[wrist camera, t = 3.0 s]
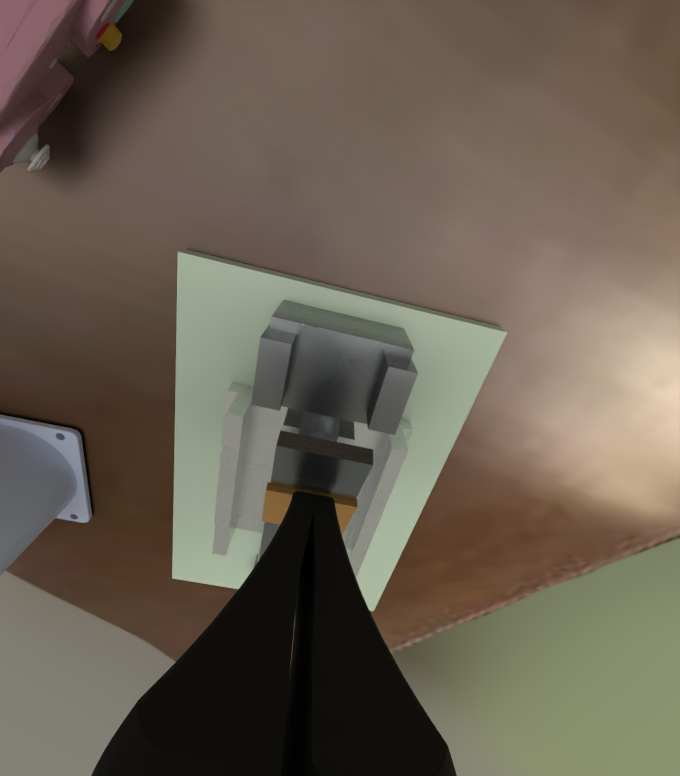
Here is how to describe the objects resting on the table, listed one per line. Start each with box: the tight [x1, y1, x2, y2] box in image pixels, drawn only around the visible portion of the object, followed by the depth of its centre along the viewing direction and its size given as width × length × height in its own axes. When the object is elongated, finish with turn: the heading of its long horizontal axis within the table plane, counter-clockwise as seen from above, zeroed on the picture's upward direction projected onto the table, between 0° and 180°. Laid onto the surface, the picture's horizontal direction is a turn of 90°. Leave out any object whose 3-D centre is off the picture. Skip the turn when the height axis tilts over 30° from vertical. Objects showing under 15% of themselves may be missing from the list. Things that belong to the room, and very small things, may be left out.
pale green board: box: [172, 250, 507, 611], centre depth 22 cm, size 16×24×1 cm, turn 167°
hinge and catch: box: [251, 300, 418, 628], centre depth 19 cm, size 6×20×4 cm, turn 167°
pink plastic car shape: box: [0, 0, 134, 172], centre depth 11 cm, size 10×5×7 cm, turn 128°
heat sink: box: [212, 382, 413, 577], centre depth 20 cm, size 10×10×3 cm
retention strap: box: [259, 430, 373, 560], centre depth 16 cm, size 3×16×1 cm, turn 167°
